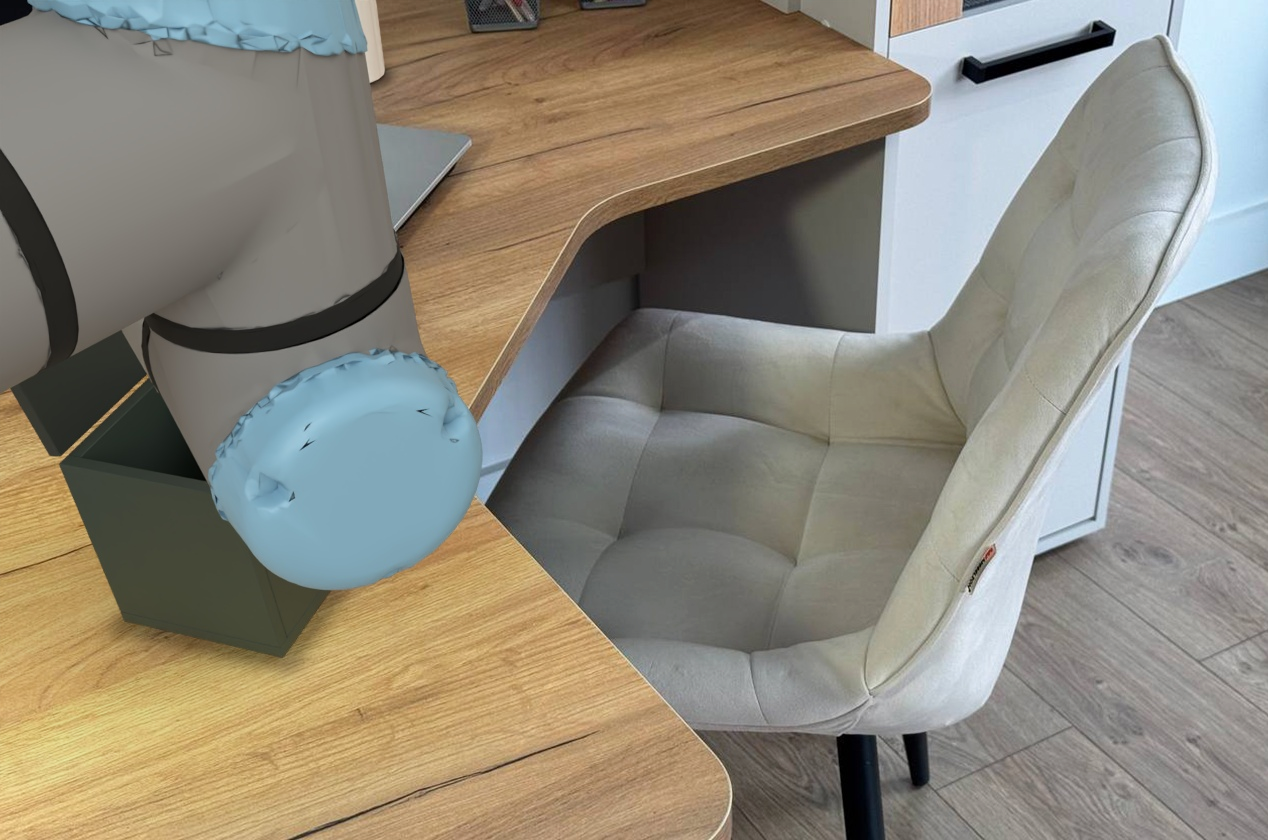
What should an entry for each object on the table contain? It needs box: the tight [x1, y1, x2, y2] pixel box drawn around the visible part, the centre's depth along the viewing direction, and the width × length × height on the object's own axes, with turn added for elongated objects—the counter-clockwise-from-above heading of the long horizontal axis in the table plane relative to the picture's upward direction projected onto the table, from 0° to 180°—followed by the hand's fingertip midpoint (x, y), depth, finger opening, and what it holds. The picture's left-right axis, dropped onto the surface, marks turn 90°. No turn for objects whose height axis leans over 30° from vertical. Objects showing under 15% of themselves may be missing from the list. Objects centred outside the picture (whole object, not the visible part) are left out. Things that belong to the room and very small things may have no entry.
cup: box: [355, 0, 386, 84], centre depth 134 cm, size 8×8×14 cm
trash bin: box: [58, 377, 332, 658], centre depth 75 cm, size 11×10×12 cm
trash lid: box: [9, 330, 148, 458], centre depth 69 cm, size 11×10×1 cm
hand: (74, 82), depth 64 cm, fingers closed on pill bottle, 5 cm apart
